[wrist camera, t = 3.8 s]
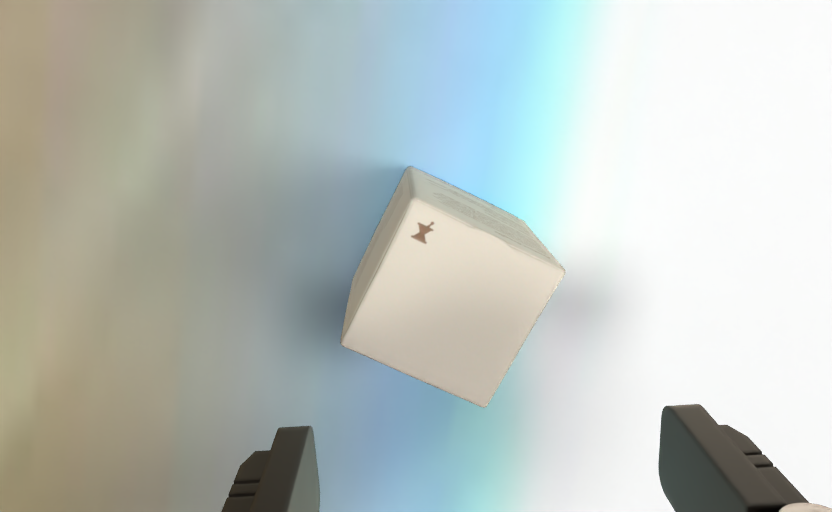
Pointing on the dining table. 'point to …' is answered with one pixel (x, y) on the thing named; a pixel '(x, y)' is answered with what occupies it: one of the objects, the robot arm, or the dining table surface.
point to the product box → (448, 288)
